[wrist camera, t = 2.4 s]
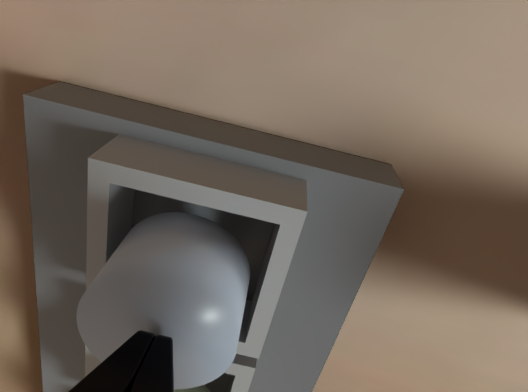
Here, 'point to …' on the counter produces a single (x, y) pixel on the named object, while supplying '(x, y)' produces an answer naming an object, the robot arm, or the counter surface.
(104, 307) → the slate blue button
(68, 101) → the button panel
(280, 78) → the counter surface
